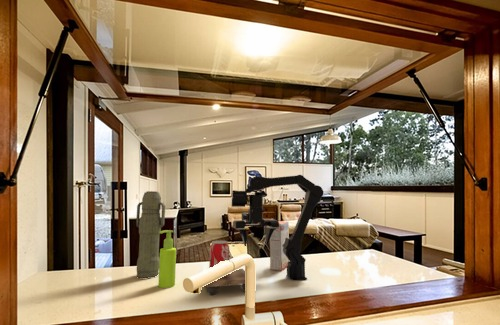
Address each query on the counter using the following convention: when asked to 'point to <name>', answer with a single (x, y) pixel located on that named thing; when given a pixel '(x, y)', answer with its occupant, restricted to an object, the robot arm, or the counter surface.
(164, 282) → the soap dispenser
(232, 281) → the tan square tray
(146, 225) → the thermos
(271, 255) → the cracker box
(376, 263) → the counter surface
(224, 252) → the soda can
